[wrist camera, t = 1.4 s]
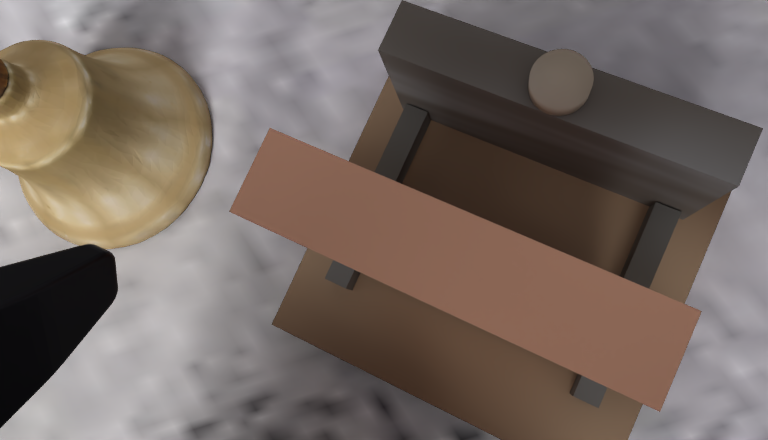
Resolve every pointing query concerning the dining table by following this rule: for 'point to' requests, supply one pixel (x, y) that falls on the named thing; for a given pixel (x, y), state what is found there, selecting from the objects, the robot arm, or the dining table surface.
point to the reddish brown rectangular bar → (470, 268)
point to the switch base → (521, 213)
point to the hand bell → (102, 139)
